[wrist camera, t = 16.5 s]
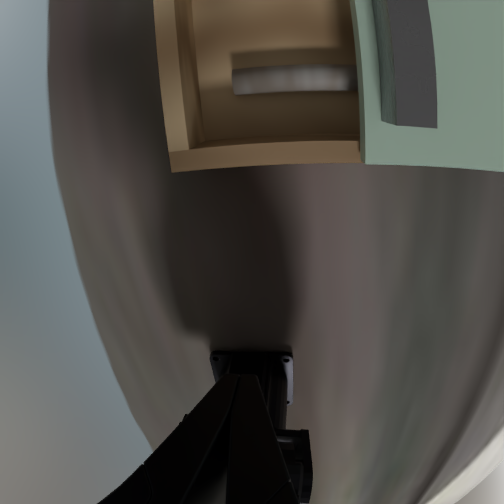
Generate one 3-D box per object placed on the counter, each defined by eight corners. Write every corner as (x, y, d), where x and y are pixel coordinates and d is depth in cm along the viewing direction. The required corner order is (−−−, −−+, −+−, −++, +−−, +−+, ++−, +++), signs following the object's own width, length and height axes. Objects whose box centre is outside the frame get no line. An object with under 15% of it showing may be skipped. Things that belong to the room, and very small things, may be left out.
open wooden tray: (458, 154, 16) (492, 169, 12) (194, 157, 18) (171, 172, 15) (443, -26, 11) (473, -45, 7) (177, -28, 13) (151, -52, 9)
